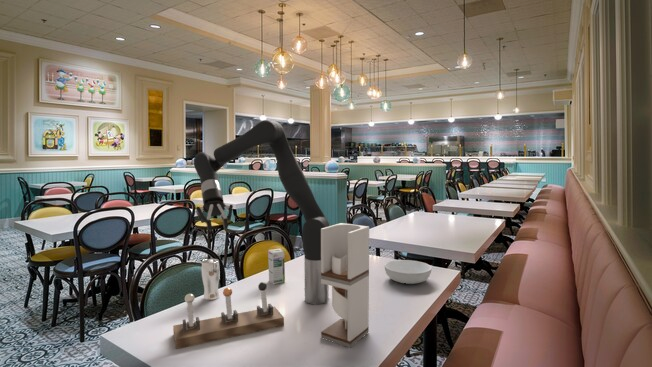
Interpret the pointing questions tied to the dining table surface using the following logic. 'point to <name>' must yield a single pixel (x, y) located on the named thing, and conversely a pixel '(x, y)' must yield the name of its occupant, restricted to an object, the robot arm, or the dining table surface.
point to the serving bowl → (408, 271)
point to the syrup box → (276, 266)
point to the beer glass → (210, 278)
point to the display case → (346, 280)
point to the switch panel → (226, 326)
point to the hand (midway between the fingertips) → (218, 229)
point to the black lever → (263, 297)
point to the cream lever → (190, 311)
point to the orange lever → (228, 304)
